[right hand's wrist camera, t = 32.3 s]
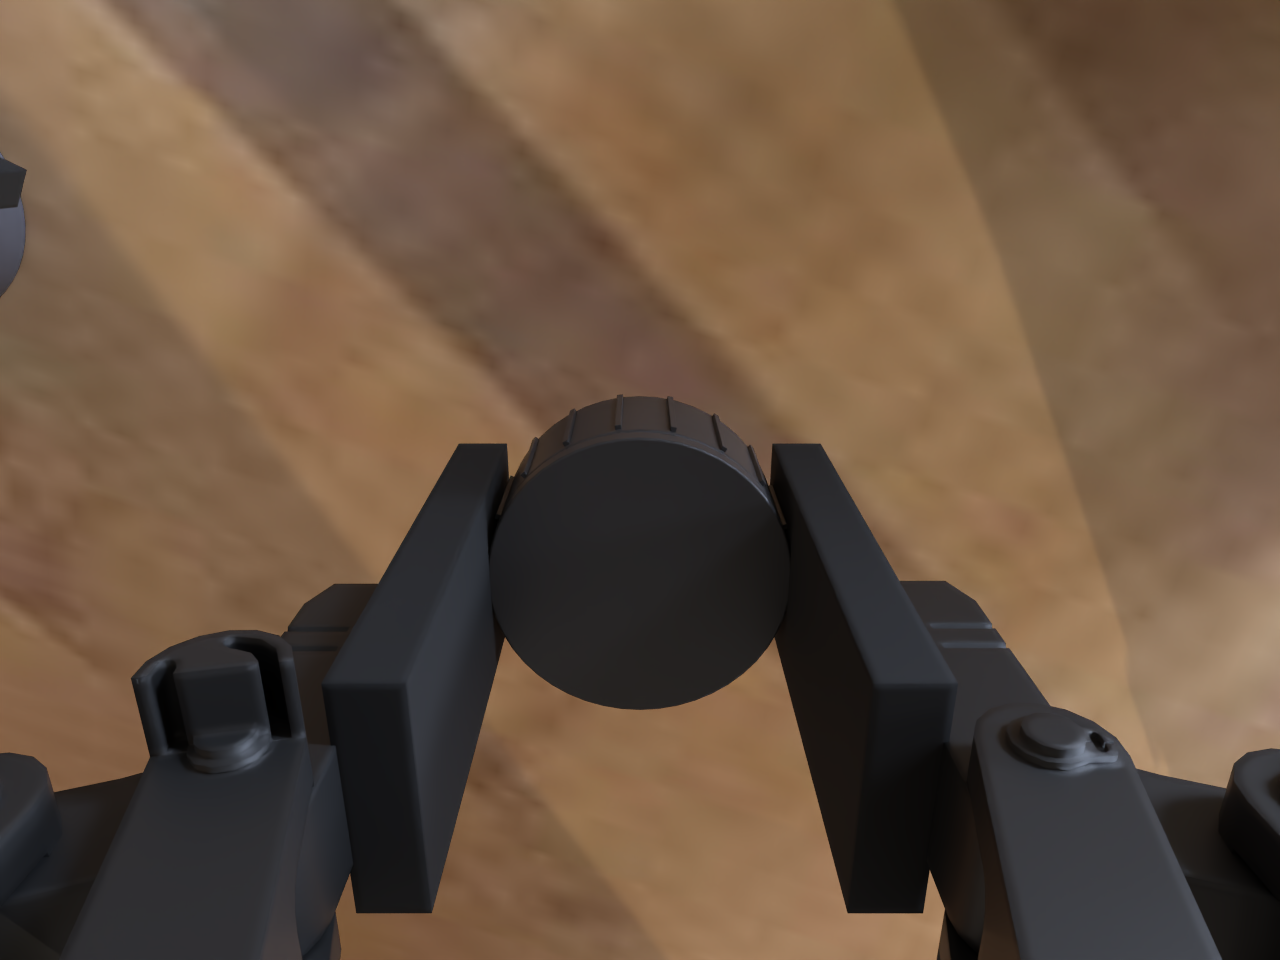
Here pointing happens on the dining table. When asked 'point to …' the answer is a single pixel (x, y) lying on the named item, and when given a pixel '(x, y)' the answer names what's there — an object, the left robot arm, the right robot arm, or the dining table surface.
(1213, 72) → the dining table surface
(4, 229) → the bottle
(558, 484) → the cap
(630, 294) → the dining table surface
